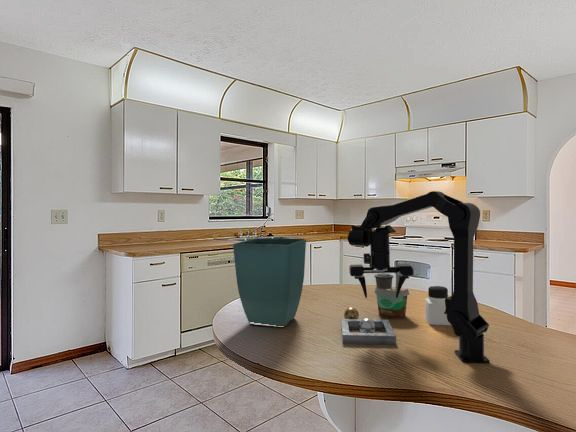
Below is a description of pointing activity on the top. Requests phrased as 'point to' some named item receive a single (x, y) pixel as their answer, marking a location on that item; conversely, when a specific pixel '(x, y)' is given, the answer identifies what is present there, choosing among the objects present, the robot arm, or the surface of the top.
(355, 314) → the bronze ball
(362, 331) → the steel ball
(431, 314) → the medicine bottle
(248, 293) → the flower pot
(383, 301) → the food container
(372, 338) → the grey square frame
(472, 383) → the top surface
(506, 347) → the top surface
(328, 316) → the top surface
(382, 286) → the coffee cup
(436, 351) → the top surface
